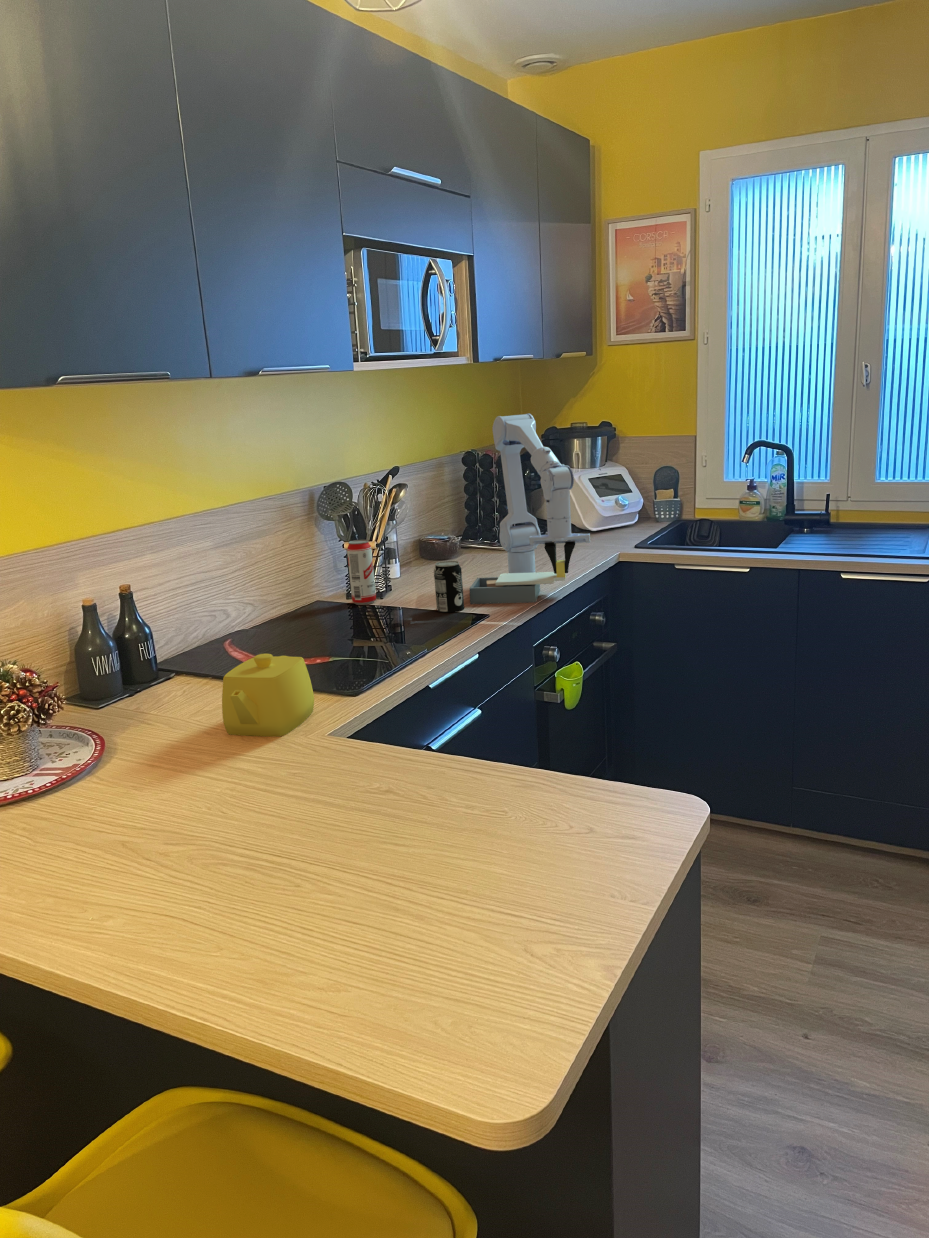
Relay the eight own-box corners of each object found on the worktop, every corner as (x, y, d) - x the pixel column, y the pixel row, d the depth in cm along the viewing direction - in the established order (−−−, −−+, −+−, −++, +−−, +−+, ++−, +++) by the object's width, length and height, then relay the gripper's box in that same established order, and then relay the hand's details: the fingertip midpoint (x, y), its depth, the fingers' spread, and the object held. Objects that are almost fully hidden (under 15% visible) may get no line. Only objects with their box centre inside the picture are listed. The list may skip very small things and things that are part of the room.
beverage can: (465, 608, 220) (462, 559, 217) (463, 614, 214) (459, 565, 211) (439, 609, 221) (435, 561, 218) (435, 616, 215) (431, 566, 212)
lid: (501, 576, 230) (500, 559, 229) (566, 574, 227) (566, 557, 225) (495, 585, 220) (494, 567, 219) (564, 583, 217) (563, 565, 216)
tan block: (487, 594, 231) (486, 580, 230) (503, 592, 230) (502, 579, 230) (487, 597, 227) (486, 583, 226) (503, 596, 227) (502, 582, 226)
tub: (478, 594, 233) (477, 577, 232) (540, 593, 230) (539, 575, 229) (470, 606, 222) (469, 588, 220) (535, 604, 219) (534, 586, 217)
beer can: (348, 605, 232) (341, 543, 228) (359, 599, 238) (353, 539, 234) (369, 605, 230) (363, 543, 226) (380, 600, 235) (375, 539, 231)
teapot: (275, 749, 141) (265, 677, 138) (204, 746, 144) (194, 675, 141) (326, 704, 159) (319, 640, 156) (263, 702, 163) (255, 639, 160)
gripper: (527, 521, 216) (530, 577, 219) (588, 518, 213) (590, 575, 216) (530, 516, 222) (533, 570, 226) (589, 514, 220) (591, 568, 223)
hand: (561, 572), depth 222 cm, fingers closed on lid, 2 cm apart
